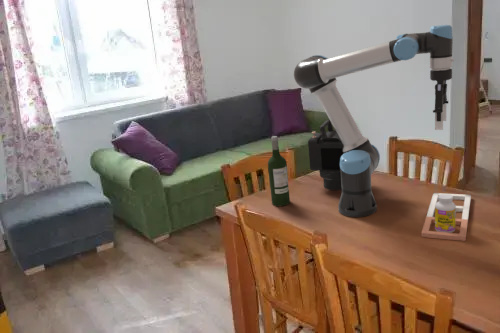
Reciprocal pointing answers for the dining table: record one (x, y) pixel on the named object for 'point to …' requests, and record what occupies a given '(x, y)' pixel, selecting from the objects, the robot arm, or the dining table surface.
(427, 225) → the rack
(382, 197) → the dining table surface
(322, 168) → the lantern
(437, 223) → the supplement bottle
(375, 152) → the robot arm
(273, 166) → the wine bottle
